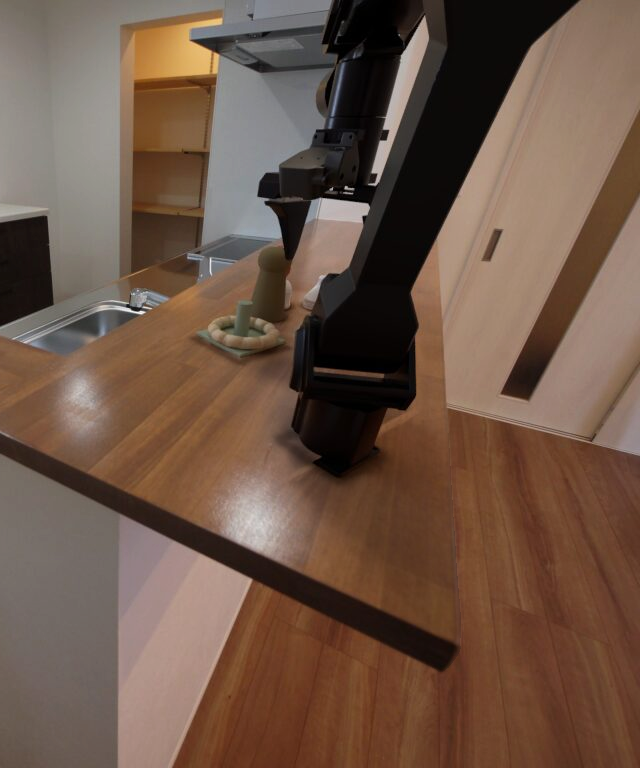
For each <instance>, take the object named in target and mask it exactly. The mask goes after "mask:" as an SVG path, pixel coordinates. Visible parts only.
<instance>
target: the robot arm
mask: <svg viewBox="0 0 640 768" xmlns="http://www.w3.org/2000/svg"><path fill="white" fill-rule="evenodd" d="M580 1H581V0H331V2H330V5H329V9H328V12H327V16H326V19H325V23H324V27H323V30H322V34H321V38H320V39H321V40H320V44H321V46H322V45H323V49H322V56H336V58H335V63H334V66H333V68H332V69H331V70H330V71H328V72H327V73H326V74H325V75H324V77H322V79H321V81H320V82H319V85H318V87H317V89H316V93H315V105H316V106H315V107H316V109H317V111H318V113H319V115H321V117H323V118H324V119H325V121H324V125H323V128H317V129H315V131H314V134H313V135H312V139H311V144H310V146H309V148H307V149H304V150H300V151H299V152H297V153H295V154H293V155H292V156H291V157H288V158H287V159H286V160H284V161H282V162H281V163H279V164H278V171H272V172H271V171H270V172H269V171H268V172H265V173H264V174H263V176H262V177H261V179H260V180H259V181H258V188H257V194H256V198H261V199H262V198H263V199H267V200H263V203H264V206H265V207H269V208H270V209H271V210H272V211H273V213H274V214H275V215H276V217H277V220H278V224H279V228H280V235H281V239H282V241H281V242H282V246H283V248H284V253H285V259H286V260H288V261H290V260H292V261H293V260H294V258H295V256H296V254H297V251H298V248H299V245H300V243H301V238H302V235H303V232H304V229H305V225H306V221H307V218H308V215H309V211H310V209H311V206H312V201H315V200H318V199H326V200H334V201H341V202H343V201H344V202H352V203H358V204H367V205H368V207H369V209H368V211H367V212H368V213H367V214H363V215H361V220H362V229H361V231H360V235H359V237H358V240H357V243H356V246H355V249H354V252H353V254H352V257H351V260H350V262H349V265H348V267H346V268H345V269H344V270H343V271H342V272H341V273H337V272H336V273H335V272H334V273H333V272H328V274H326V275H327V276H326V277H325V278H324V279H323V280H322V282H321V285H320V289H319V293H318V296H317V299H316V302H315V304H314V306H313V309H312V310H311V313H310V314H306V315H305V316H304V317H303V320H302V323H301V324H300V326H299V328H297V329H296V330H295V333H294V341H293V342H294V343H293V354H292V365H291V366H292V367H291V372H290V376H289V382H288V388H289V389H290V390H292V391H294V392H295V393H298V394H297V399H296V402H295V407H294V410H293V413H292V419H291V423H290V428H291V429H293V433H296V434H297V435H298V437H299V440H300V442H301V444H302V445H303V446H304V447H305V448H306V449H307V450H308V451H310V452H312V453H313V454H315V455H317V456H319V457H318V458H316V459H315V460H313V461H312V462H313V463H315V464H316V465H318V466H319V467H320V468H322V469H323V470H326V471H327V472H328V473H330V474H331V475H333V476H335V477H337V478H338V477H339V478H340V477H343V476H345V475H347V474H348V473H350V472H351V471H353V470H355V469H357V468H358V467H360V466H362V465H364V464H365V463H367V462H369V461H370V460H372V459H374V458H375V457H377V456H379V454H380V453H381V448H380V447H378V446H377V445H375V443H376V440H377V438H378V435H379V434H380V430H381V427H382V425H383V422H384V419H385V417H386V414H387V411H388V410H389V409H393V410H397V411H400V412H401V411H402V412H406V411H407V410H408V409H409V408H410V406H411V405H412V404H413V402H414V401H415V399H416V397H417V360H416V359H417V358H416V357H417V356H416V355H417V354H416V335H417V333H418V331H419V327H420V323H419V319H418V316H417V312H416V308H415V304H414V301H413V300H414V299H413V296H412V291H413V288H414V286H415V284H416V281H417V280H418V278H419V275H420V273H421V271H422V270H423V268H424V265H425V263H426V261H427V259H428V258H429V255H430V253H431V251H432V249H433V247H434V245H435V243H436V241H437V239H438V237H439V234H440V233H441V231H442V228H443V227H444V224H445V222H446V220H447V218H448V216H449V214H450V212H451V210H452V208H453V206H454V204H455V202H456V200H457V198H458V196H459V194H460V192H461V189H462V187H463V185H464V183H465V181H466V179H467V177H468V175H469V173H470V171H471V169H472V167H473V165H474V163H475V161H476V159H477V157H478V155H479V153H480V151H481V149H482V147H483V144H484V143H485V141H486V139H487V136H488V134H489V132H490V131H491V128H492V126H493V125H494V122H495V121H496V118H497V116H498V113H499V112H500V110H501V108H502V106H503V103H504V102H505V100H506V97H507V96H508V93H509V91H510V89H511V87H512V85H513V83H514V81H515V79H516V77H517V75H518V73H519V71H520V69H521V67H522V65H523V62H524V61H525V59H526V57H527V55H528V53H529V52H530V51H531V48H532V46H533V45H535V43H537V41H539V39H541V38H542V37H543V36H544V35H545V34H546V33H547V32H548V31H549V30H551V28H553V26H554V25H556V24H557V23H558V22H559V21H561V19H563V17H564V16H565V15H567V14H568V13H569V12H570V11H572V9H573V8H574V7H575V6H577V5H578V3H580ZM423 19H425V23H426V28H427V34H428V41H427V44H426V48H425V50H424V53H423V56H422V59H421V62H420V65H419V67H418V71H417V73H416V76H415V79H414V81H413V85H412V87H411V90H410V93H409V96H408V99H407V102H406V105H405V107H404V110H403V113H402V116H401V119H400V122H399V124H398V127H397V130H396V133H395V136H394V139H393V141H392V144H391V147H390V149H389V153H388V156H387V158H386V161H385V164H384V167H383V169H382V173H381V175H380V178H379V181H378V182H377V178H378V174H379V173H378V172H373V170H374V169H373V168H374V166H375V165H374V164H375V162H376V158H377V154H378V149H379V146H380V142H387V140H388V137H389V134H390V129H384V127H385V123H386V119H387V118H386V117H387V115H388V111H389V107H390V104H391V100H392V96H393V93H394V88H395V85H396V81H397V77H398V75H399V70H400V66H401V62H402V61H401V60H402V56H403V54H404V53H405V51H406V50H407V48H408V46H409V44H410V43H411V41H412V39H413V37H414V36H415V34H416V32H417V30H418V29H419V26H420V25H421V23H422V22H423ZM338 34H339V35H338ZM376 182H377V184H376ZM375 184H376V185H375ZM315 368H316V369H327V370H337V371H347V372H356V373H365V374H366V373H368V374H376V375H377V374H379V375H383V377H378V376H366V375H357V374H355V375H353V374H348V373H347V374H346V373H336V372H324V371H316V370H315Z"/></svg>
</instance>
